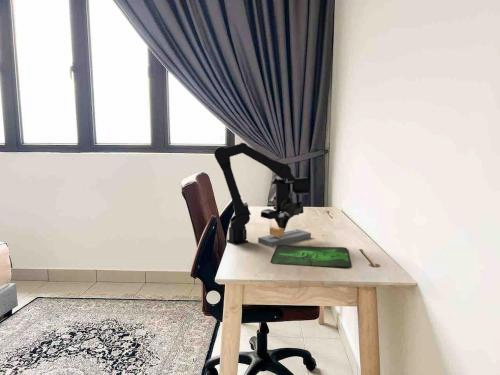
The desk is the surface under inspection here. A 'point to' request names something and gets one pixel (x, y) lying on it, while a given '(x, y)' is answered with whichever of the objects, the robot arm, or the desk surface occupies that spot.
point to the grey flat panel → (284, 238)
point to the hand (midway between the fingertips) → (282, 232)
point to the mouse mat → (311, 256)
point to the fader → (276, 231)
